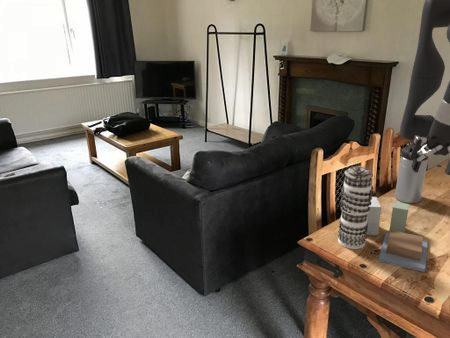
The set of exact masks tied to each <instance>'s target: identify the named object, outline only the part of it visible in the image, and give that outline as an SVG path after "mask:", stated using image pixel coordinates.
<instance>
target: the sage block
mask: <svg viewBox="0 0 450 338" xmlns="http://www.w3.org/2000/svg"><path fill="white" fill-rule="evenodd" d="M409 210H410V203H406V202H403V203H402V202H398V201H394V203H393V205H392V211H391V218H390V224H389V231H388V232H389V233H390V232H391V230H393V231H398V232H402V233H406V227H407V220H408V214H409Z"/></svg>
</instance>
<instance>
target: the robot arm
mask: <svg viewBox="0 0 450 338" xmlns="http://www.w3.org/2000/svg"><path fill="white" fill-rule="evenodd" d="M437 28H439V29H440V28H447V29H446V38H447V41H448V42H449V43H450V0H424V3H423V7H422V11H421V18H420V27H419V34H418V35H419V36H418V41H417V48H416V53H415V57H414V62H413V66H412V70H411V75H410V80H409V81H410V82H409V88H408V95H407V98H406V99H407V100H406V104H405V109H404V112H403V115H402V118H401V123H400V129H399V133H400V137H401V139H403V140H407V141H408V140H409V141H410V140H411V145H408V146H405V147H403V148H402V149H401V152H400V160H399V166H398V173H397V181H396V186H395V191H394V197H395V199H396V200H398V201H400V202H401V203H402V202H403V203H405V204H417V203H420V202H421V200H422V196H423V195H422V194H423V189H424V183H425V177H426V172H427V165H428V161H429V157H430V156H432V155H435V156H438V155H441V156H447V155H449V157H450V80H449V81H448V84H447V86H446V89H445V92H444V95H443V97H442V100H440V101H441V102H440V103H439V105H438V107H437V111H436V113H435V116H433V115H428V114H416V113H417V111H418V110H419V109H420V108H421V106H422V105H423V104H424V103H425V102H427V101H428V100H429V99H430V98H432V96H434V95H435V94H436V92H438V90H439V89H440V88H441V86H442V83H443V78H444V73H445V70H446V65H445V61H444V58H442V56H441V54H440V52H439V51H438V49H437V47H436V45H435V42H434V38H433V32H434V29H437ZM444 173H445V174H446V176H450V159H448V162H447V165H446V167H445V169H444Z"/></svg>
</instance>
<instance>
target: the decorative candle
mask: <svg viewBox="0 0 450 338" xmlns="http://www.w3.org/2000/svg"><path fill="white" fill-rule="evenodd" d="M343 174H344V175H345V177H344V181H343V186H342V187H341V191H340V192H341V193H340V197H341V198H340V209H341V215H340V219H339V222H338V224H339V225H338V231H337V233H338V234H337V238H338V239H337V241H338V243H339V244H340V245H341V246H342V247H345V248H347V249H351V250H358V249H363V248H364V247H365V246H366V244H367V243H366V242H367V236H368V235H367V233H366V232H367V228H368V224H367V219H368V218H367V214H368V213H369V211H370V207H368V206H369V205H371V200H372V197H373V196H372V195H374V186H372V181H373V177H374V174H373V172H371V170H370V169H369V168H367V167H365V166H360V165H358V166H357V165H356V166H355V165H354V166H351V167H348V169H346V170H345V171H344V173H343Z"/></svg>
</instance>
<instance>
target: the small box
mask: <svg viewBox="0 0 450 338" xmlns="http://www.w3.org/2000/svg"><path fill="white" fill-rule="evenodd" d="M371 197H372V200H371V205H369V206H368V207H370V211H369V213H368V214H367V218H368V219H367V224H368V228H367V232H366V233H367V235H366V236H379V229H380V222H381V213H382V212H381V211H382V206H381V204H380V202H379V198H378V197H377V196H371Z"/></svg>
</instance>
